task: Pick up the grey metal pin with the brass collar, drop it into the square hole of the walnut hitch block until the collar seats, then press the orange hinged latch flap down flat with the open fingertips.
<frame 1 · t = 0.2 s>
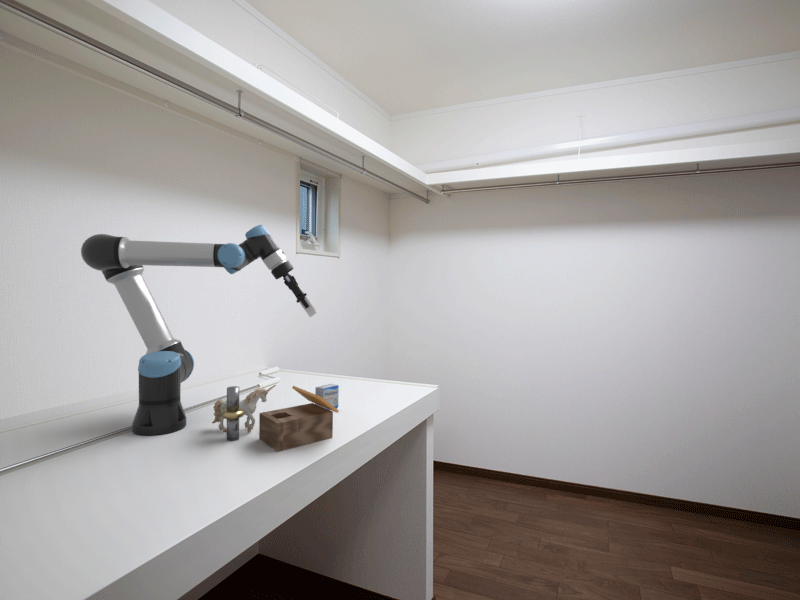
hand: (313, 313, 162), 36 cm above the table, tool tilted 35°, fingers open, 13 cm apart
hitch block: (296, 438, 133), on the table
unicorn figurine: (245, 428, 142), on the table
pin: (232, 439, 132), on the table
latch flap: (314, 398, 137), point 11 cm above the table, hinge at 40.0°
medicine box: (326, 409, 165), on the table
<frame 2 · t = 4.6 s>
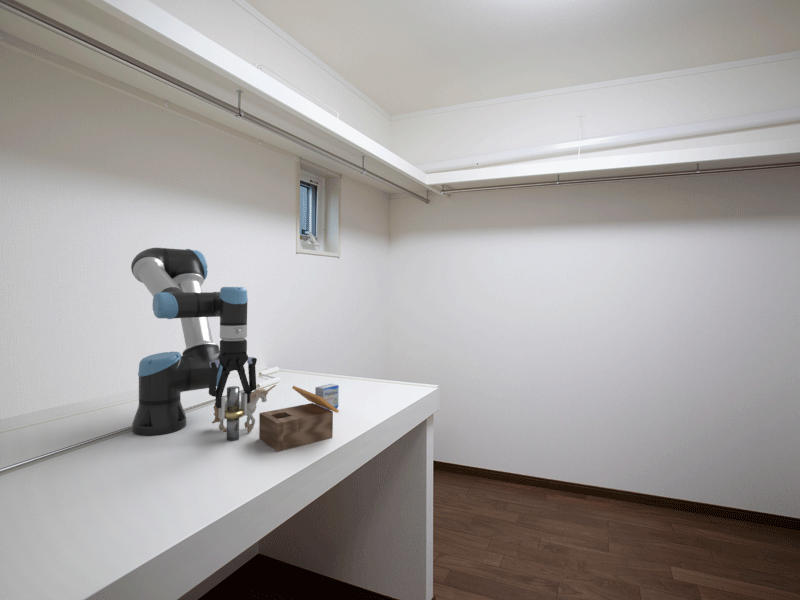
hand: (232, 416, 131), 7 cm above the table, tool pointing down, fingers closed on pin, 6 cm apart
pin: (232, 439, 132), on the table, touching gripper
everything else where it was.
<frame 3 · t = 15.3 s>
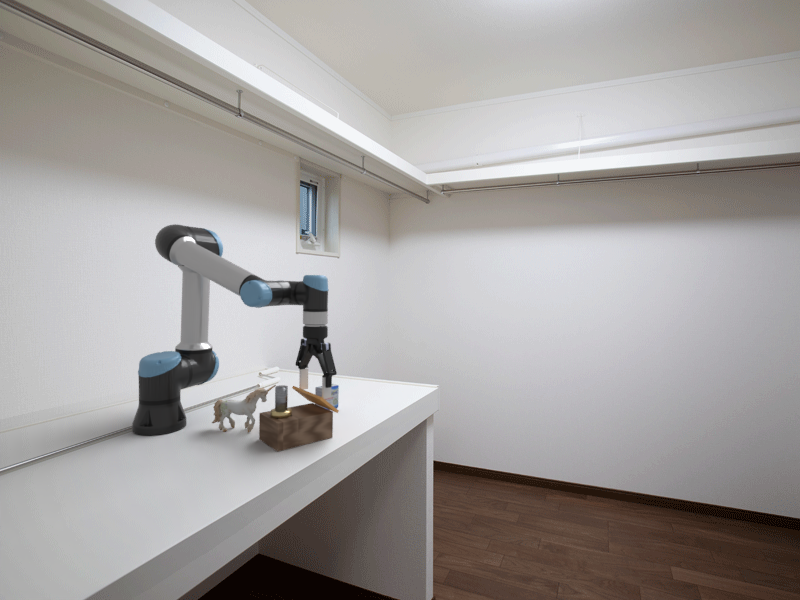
hand: (314, 393, 137), 13 cm above the table, tool pointing down
pin: (280, 438, 130), point 1 cm above the table, touching hitch block
latch flap: (314, 398, 137), point 11 cm above the table, hinge at 39.9°, touching gripper
everything else where it was.
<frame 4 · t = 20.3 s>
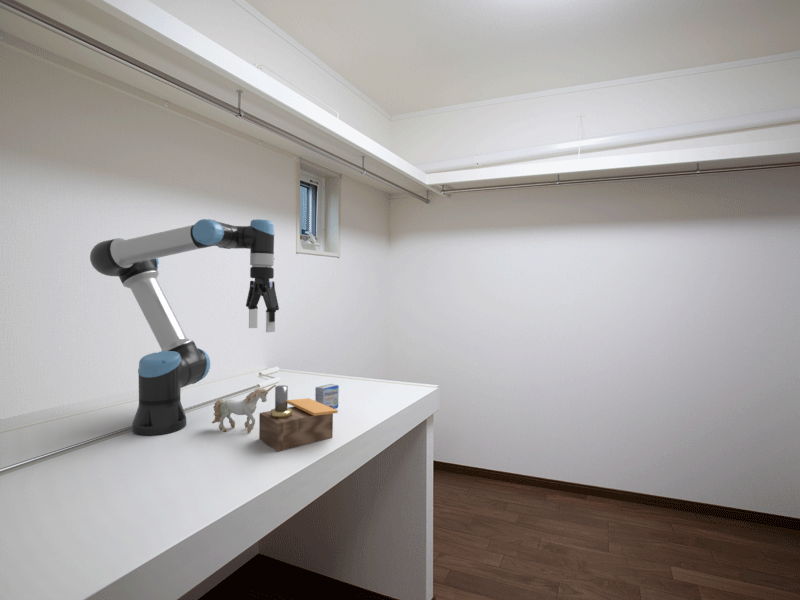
hand: (261, 330, 149), 31 cm above the table, tool pointing down, fingers open, 13 cm apart
latch flap: (311, 406, 136), point 9 cm above the table, hinge at 4.6°
everything else where it was.
at the end: pin 0.0 cm from the target spot on the hitch block, point 1.0 cm above the hitch block's base; pin tilted 0°; latch flap at +5° (first picture: +40°) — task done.
